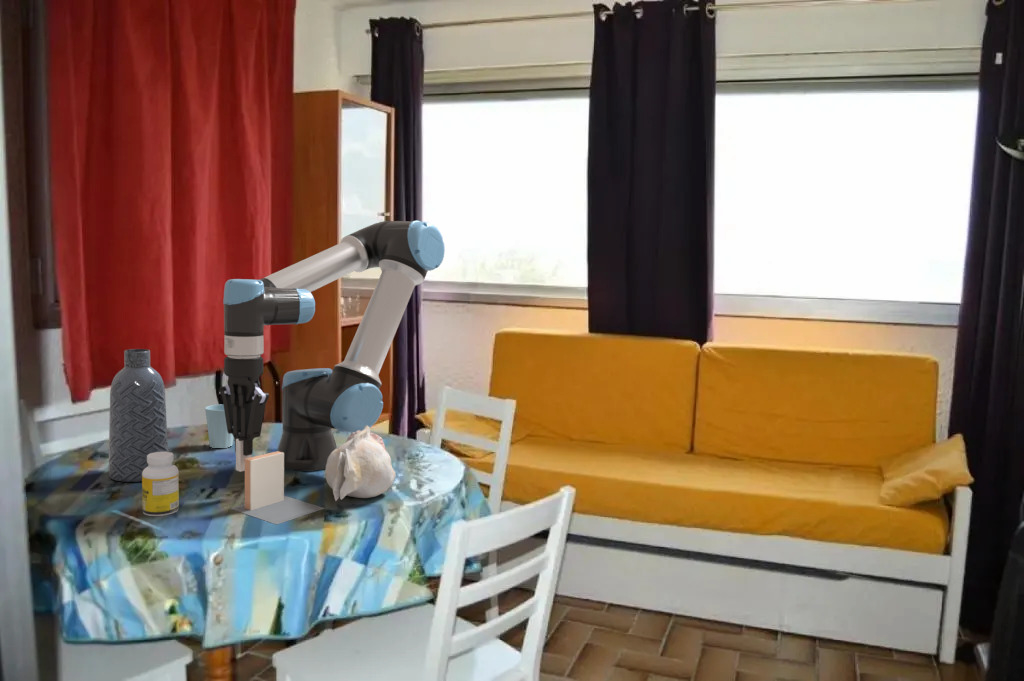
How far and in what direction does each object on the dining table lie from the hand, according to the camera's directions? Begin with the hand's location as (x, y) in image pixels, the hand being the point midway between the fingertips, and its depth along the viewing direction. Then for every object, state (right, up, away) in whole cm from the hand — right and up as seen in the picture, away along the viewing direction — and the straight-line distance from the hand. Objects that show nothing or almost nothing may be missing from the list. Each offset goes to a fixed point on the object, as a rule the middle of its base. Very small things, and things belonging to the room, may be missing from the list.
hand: (243, 469), depth 159 cm
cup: (-20, -1, +42) cm, 46 cm away
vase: (-29, -4, +15) cm, 32 cm away
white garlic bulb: (+21, -7, +6) cm, 23 cm away
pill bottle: (-13, -7, -9) cm, 17 cm away
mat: (+9, -7, -5) cm, 12 cm away
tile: (+5, -7, -3) cm, 9 cm away
